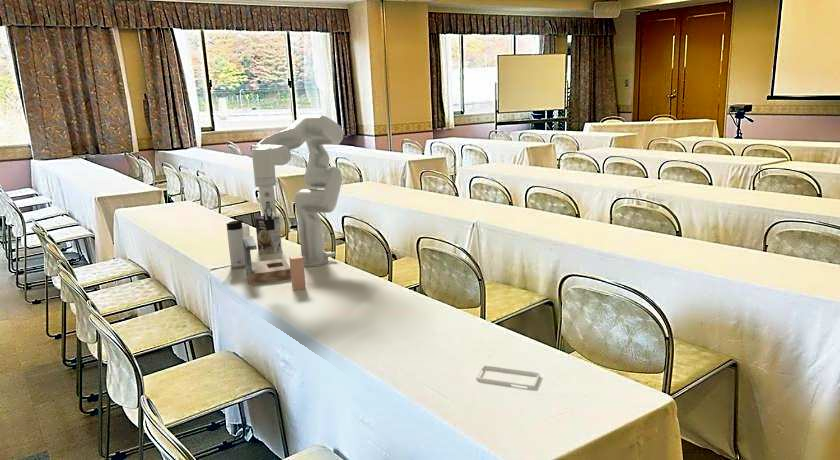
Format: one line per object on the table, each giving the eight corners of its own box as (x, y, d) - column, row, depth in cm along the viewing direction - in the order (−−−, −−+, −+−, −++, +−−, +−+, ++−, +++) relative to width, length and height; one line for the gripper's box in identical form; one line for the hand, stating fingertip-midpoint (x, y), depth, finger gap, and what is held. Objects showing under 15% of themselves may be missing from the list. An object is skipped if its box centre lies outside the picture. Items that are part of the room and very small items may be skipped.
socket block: (285, 267, 257) (282, 232, 254) (291, 278, 243) (288, 241, 239) (246, 272, 252) (242, 237, 248) (249, 284, 237) (245, 246, 234)
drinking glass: (255, 257, 274) (252, 224, 270) (245, 261, 268) (241, 227, 265) (243, 255, 277) (240, 223, 273) (233, 260, 271) (229, 226, 267)
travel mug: (243, 269, 257) (238, 222, 252) (228, 268, 258) (223, 222, 253) (249, 264, 263) (245, 219, 258) (235, 264, 264) (230, 218, 259)
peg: (303, 284, 235) (301, 254, 232) (305, 288, 231) (303, 257, 228) (291, 286, 233) (289, 256, 230) (293, 290, 229) (290, 259, 226)
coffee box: (257, 252, 282) (254, 218, 278) (266, 248, 287) (262, 215, 283) (274, 254, 278) (271, 219, 274) (282, 250, 284) (279, 216, 280)
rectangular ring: (540, 377, 158) (483, 369, 163) (540, 372, 158) (483, 364, 163) (534, 391, 151) (475, 382, 157) (534, 386, 151) (475, 377, 156)
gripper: (277, 184, 219) (281, 231, 223) (274, 177, 235) (277, 221, 239) (255, 185, 217) (260, 233, 221) (253, 179, 233) (258, 223, 237)
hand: (269, 227), depth 230 cm, fingers open, 9 cm apart
